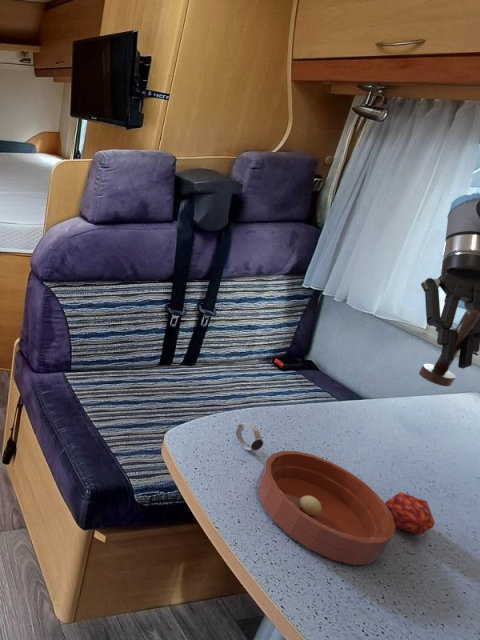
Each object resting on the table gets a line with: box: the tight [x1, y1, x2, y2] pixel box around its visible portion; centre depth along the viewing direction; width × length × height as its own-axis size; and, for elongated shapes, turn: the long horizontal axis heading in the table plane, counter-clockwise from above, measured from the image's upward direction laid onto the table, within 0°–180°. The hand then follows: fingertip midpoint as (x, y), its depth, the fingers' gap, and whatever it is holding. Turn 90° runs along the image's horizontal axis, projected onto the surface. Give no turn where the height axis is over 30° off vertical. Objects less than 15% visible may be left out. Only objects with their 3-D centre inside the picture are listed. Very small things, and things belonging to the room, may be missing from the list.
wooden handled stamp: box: [418, 309, 480, 387], centre depth 93 cm, size 5×5×16 cm
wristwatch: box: [234, 422, 264, 451], centre depth 92 cm, size 3×5×5 cm, turn 11°
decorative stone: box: [384, 491, 436, 536], centre depth 77 cm, size 6×7×8 cm
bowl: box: [256, 450, 396, 566], centre depth 78 cm, size 18×18×6 cm
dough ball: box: [300, 496, 322, 516], centre depth 78 cm, size 3×3×3 cm
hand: (455, 363), depth 91 cm, fingers closed on wooden handled stamp, 2 cm apart
